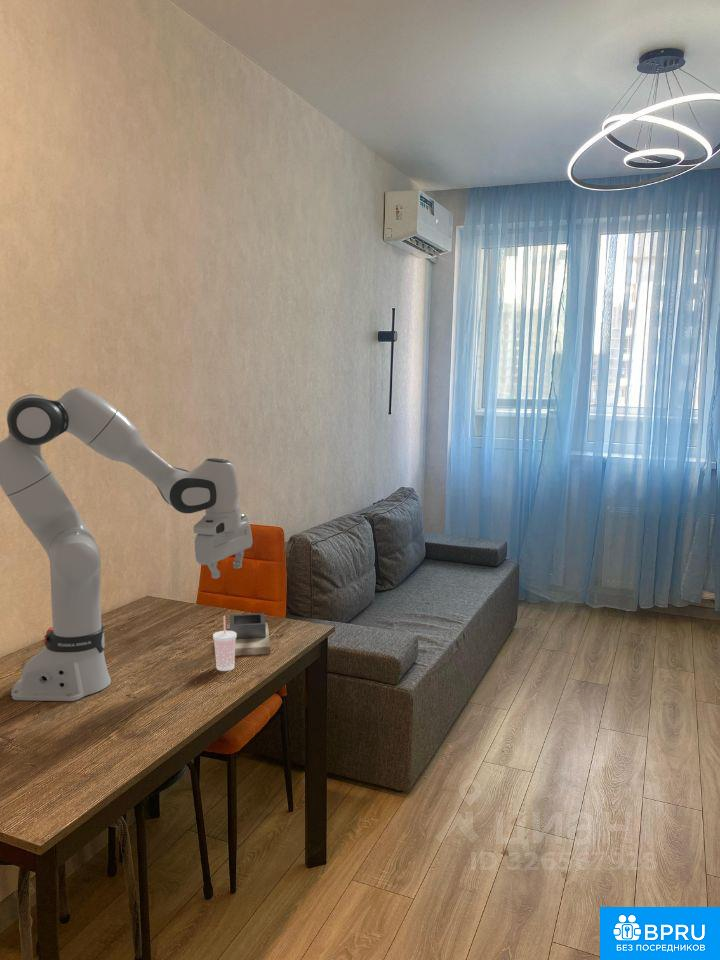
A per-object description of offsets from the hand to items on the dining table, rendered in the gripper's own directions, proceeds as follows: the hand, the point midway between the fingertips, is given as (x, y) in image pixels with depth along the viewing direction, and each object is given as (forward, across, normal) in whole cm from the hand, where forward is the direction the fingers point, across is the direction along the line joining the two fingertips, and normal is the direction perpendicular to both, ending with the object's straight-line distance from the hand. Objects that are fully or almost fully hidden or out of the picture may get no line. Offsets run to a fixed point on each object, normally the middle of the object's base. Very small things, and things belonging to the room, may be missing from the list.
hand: (227, 572), depth 195 cm
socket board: (+25, -14, -5) cm, 29 cm away
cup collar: (+23, -16, -6) cm, 29 cm away
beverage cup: (+25, +4, 0) cm, 25 cm away
